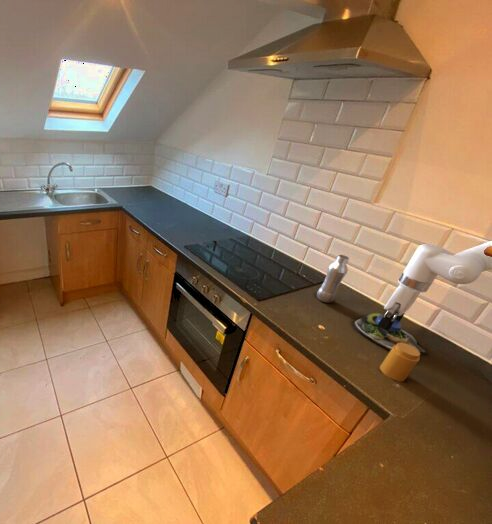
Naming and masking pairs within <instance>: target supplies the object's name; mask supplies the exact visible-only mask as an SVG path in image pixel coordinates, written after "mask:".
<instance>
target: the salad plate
mask: <svg viewBox="0 0 492 524" xmlns="http://www.w3.org/2000/svg"><path fill="white" fill-rule="evenodd" d="M379 315H384V314H383V313H380V312H370V313H368V314H366V316H363V317H361V318H359V319H356V320H355V321H354V322H353V325H354V328H355V330H356V331H357V332H358V333H359V334H360V335H362V336H363V337H365V338H367V339H369V340H370V341H372V342H373V343H376V344H377V345H379V346H380V347H383V348H385V349H387V350H389V351H390V350H391V349H392V347H393V346H394V345H396V344H397V343H406V344H408V345H411V346H413V347H414V348H416V349H417V350H418V351H419V352H420V353H426V351H425V350H424V349H423V347H421V346H420V345H418V344H417V343H418V342H417V339H416V338H415V337H414V336H413V335H412V334H411V333H409V332H408V331H405V330H403V329H402V328H401V329H400V331H398V332H393V331H386V330H384V329H383V328H381V327H379V326H378V324H377V323H376V321H375V320H376V318H377V317H378V316H379Z"/></svg>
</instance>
